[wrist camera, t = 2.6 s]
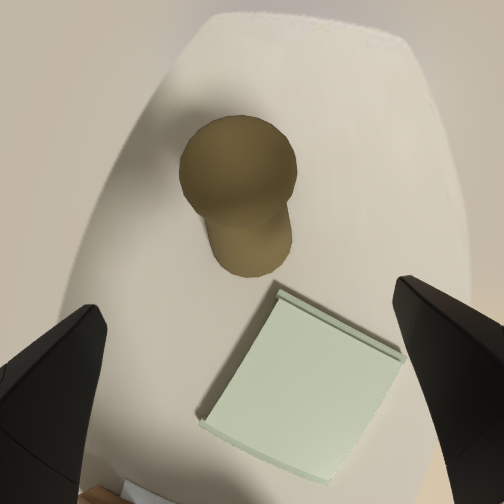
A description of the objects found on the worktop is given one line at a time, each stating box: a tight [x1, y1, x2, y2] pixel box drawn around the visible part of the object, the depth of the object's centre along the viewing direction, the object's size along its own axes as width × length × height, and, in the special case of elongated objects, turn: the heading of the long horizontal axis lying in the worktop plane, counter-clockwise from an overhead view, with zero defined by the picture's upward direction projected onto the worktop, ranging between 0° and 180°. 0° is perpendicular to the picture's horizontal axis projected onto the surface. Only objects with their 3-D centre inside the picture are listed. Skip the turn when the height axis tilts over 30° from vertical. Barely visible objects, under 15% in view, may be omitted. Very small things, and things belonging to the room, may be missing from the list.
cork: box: [179, 115, 297, 278], centre depth 16 cm, size 6×6×11 cm
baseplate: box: [198, 289, 407, 486], centre depth 18 cm, size 11×11×1 cm
